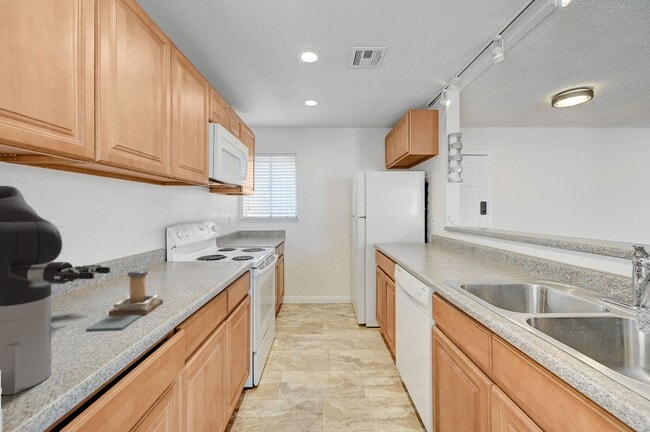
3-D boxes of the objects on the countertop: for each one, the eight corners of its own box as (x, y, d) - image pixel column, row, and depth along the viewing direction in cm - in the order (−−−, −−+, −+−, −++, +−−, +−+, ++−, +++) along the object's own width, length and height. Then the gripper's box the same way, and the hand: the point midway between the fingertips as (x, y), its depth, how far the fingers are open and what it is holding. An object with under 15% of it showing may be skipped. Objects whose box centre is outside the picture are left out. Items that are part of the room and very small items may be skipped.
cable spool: (142, 307, 98) (142, 273, 98) (123, 308, 97) (123, 273, 97) (150, 302, 104) (150, 270, 104) (133, 302, 103) (133, 270, 103)
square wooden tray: (146, 314, 96) (146, 304, 96) (108, 315, 94) (108, 305, 94) (162, 303, 108) (162, 294, 107) (129, 304, 106) (129, 295, 106)
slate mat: (122, 329, 84) (123, 327, 84) (86, 330, 82) (86, 328, 82) (140, 316, 94) (140, 315, 94) (108, 317, 92) (108, 316, 92)
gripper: (32, 266, 90) (87, 266, 92) (67, 258, 104) (114, 258, 106) (32, 289, 90) (87, 288, 92) (67, 278, 104) (114, 278, 106)
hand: (101, 272), depth 99 cm, fingers open, 8 cm apart
